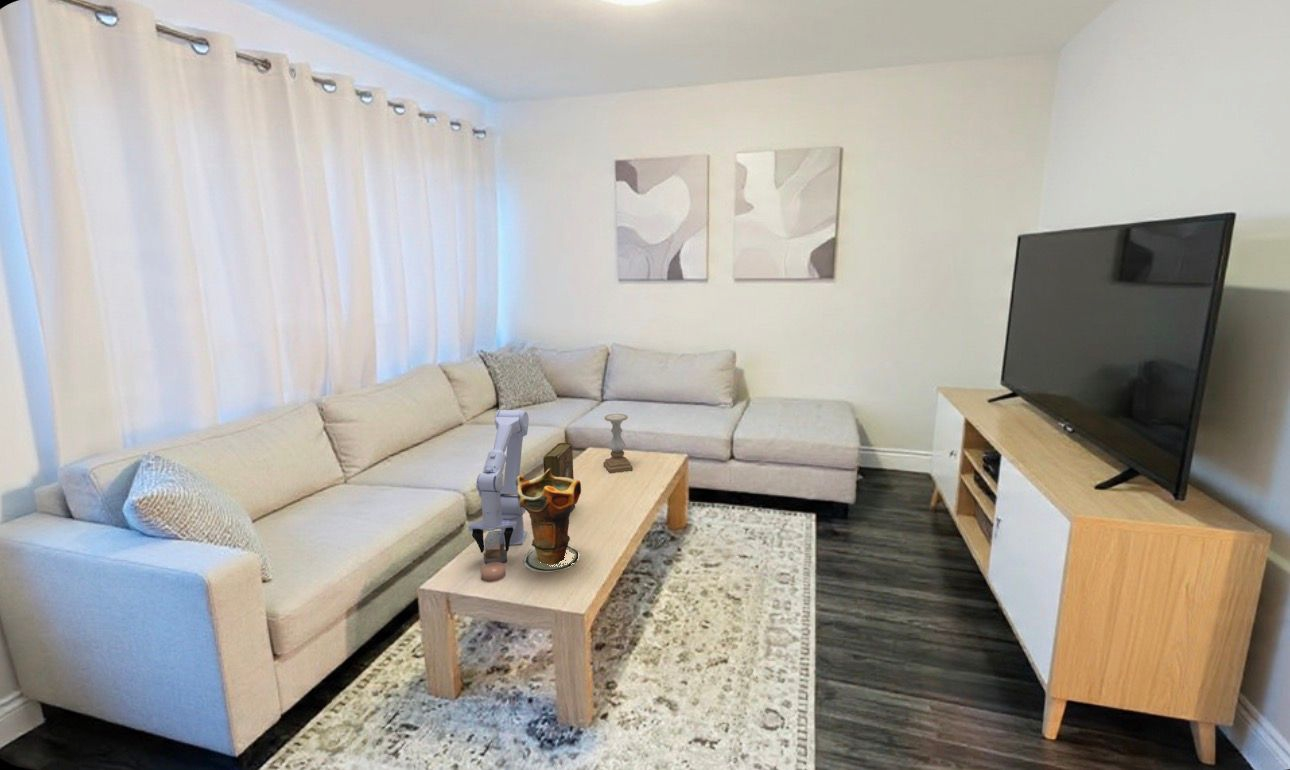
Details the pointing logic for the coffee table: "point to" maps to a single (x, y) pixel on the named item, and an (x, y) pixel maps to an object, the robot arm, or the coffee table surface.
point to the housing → (494, 544)
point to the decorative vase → (548, 518)
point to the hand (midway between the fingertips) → (495, 550)
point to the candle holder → (617, 446)
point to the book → (560, 461)
